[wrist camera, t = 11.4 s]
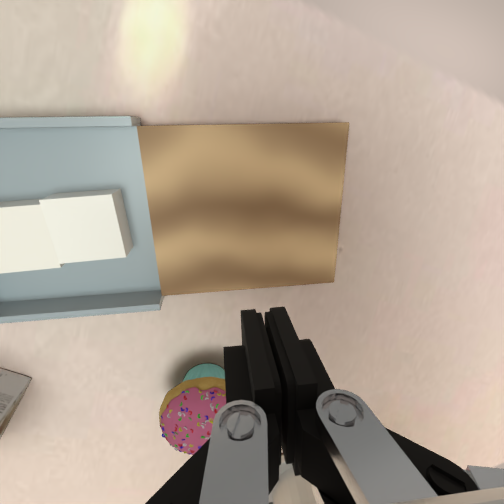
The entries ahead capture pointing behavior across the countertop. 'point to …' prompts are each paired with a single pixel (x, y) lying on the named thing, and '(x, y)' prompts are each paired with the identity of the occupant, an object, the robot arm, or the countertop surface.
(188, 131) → the board
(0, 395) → the coffee box
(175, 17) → the countertop surface
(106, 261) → the tray
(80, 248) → the tile
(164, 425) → the cupcake
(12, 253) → the tile
